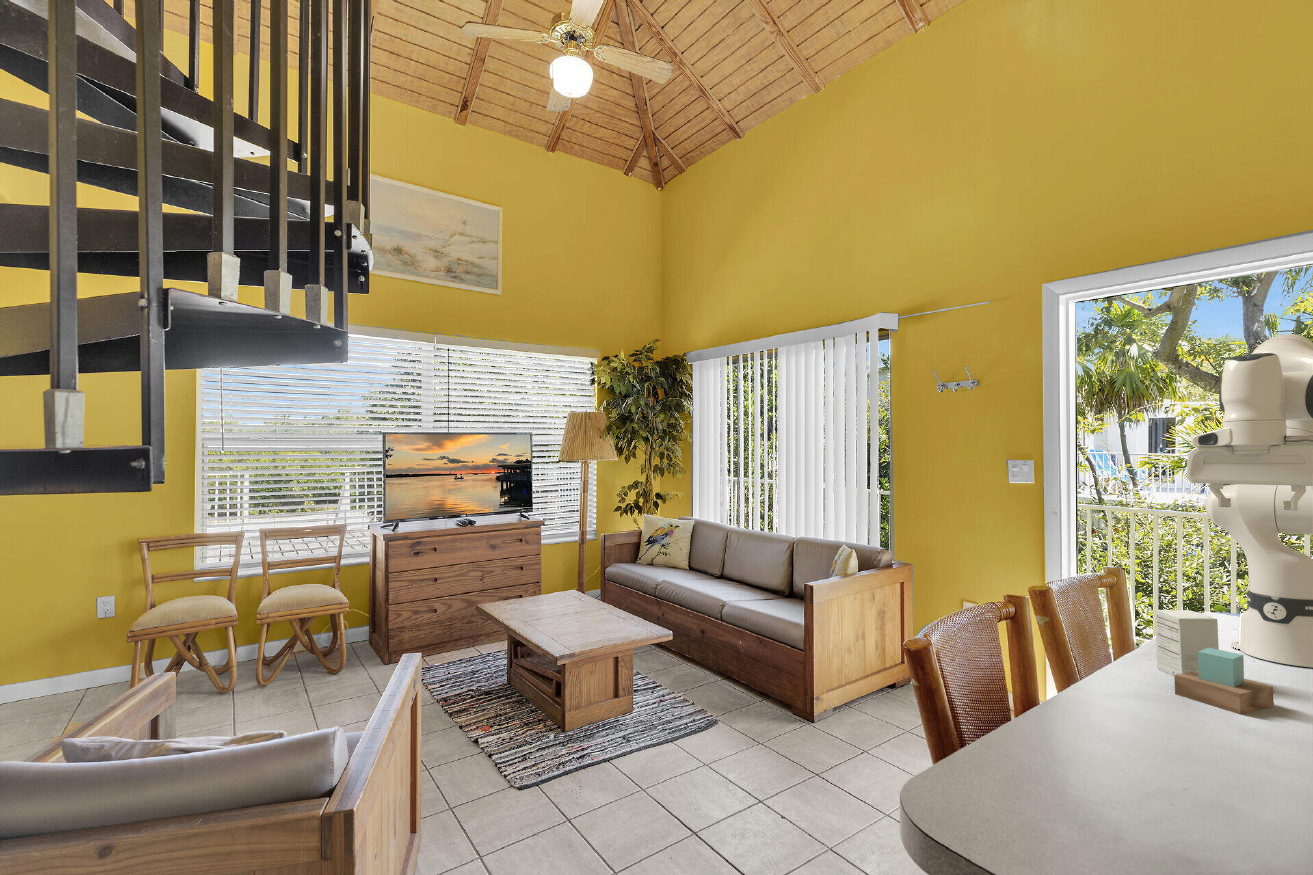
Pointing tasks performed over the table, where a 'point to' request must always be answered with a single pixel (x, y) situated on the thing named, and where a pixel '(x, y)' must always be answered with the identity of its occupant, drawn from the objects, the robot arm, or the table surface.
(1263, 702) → the walnut block
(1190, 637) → the supplement box
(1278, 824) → the table surface
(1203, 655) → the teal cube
